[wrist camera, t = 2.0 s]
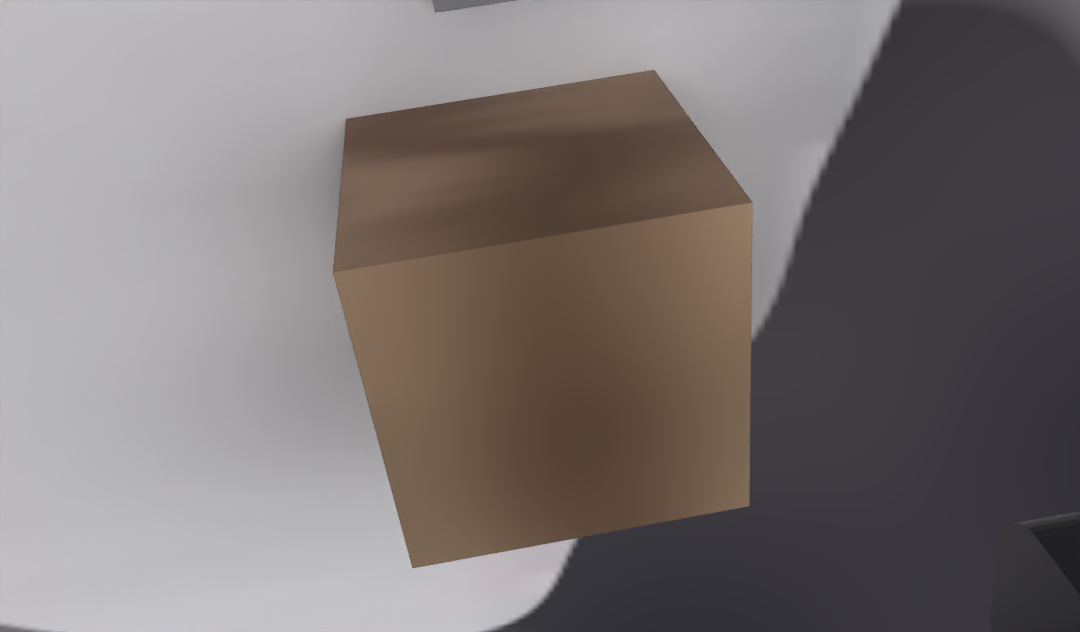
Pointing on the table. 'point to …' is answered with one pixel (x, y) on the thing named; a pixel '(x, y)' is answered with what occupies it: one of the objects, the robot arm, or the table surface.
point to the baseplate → (461, 4)
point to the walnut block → (548, 314)
